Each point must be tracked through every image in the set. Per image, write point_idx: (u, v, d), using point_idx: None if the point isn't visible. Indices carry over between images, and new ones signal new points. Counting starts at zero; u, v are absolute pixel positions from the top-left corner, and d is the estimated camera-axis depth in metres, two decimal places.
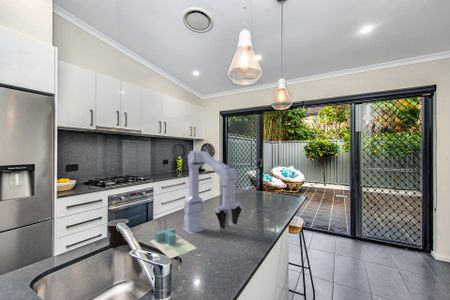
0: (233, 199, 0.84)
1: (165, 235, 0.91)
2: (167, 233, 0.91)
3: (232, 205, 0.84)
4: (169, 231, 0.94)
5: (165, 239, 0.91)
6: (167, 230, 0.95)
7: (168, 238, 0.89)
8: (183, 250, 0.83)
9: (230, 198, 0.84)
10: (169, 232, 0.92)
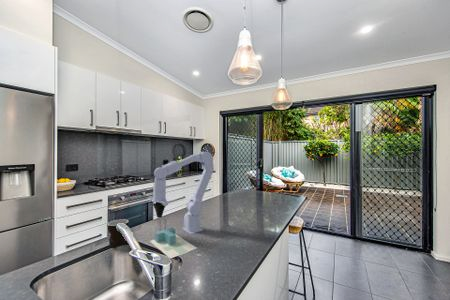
0: (154, 193, 0.98)
1: (165, 235, 0.91)
2: (167, 233, 0.91)
3: (154, 198, 0.98)
4: (169, 231, 0.94)
5: (165, 239, 0.91)
6: (167, 230, 0.95)
7: (168, 238, 0.89)
8: (183, 250, 0.83)
9: (154, 192, 0.99)
10: (169, 232, 0.92)
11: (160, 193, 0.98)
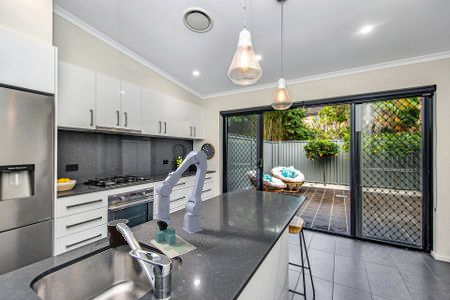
0: (158, 211, 0.95)
1: (165, 235, 0.91)
2: (167, 233, 0.91)
3: (157, 216, 0.95)
4: (169, 231, 0.94)
5: (165, 239, 0.91)
6: (167, 230, 0.95)
7: (168, 238, 0.89)
8: (183, 250, 0.83)
9: None
10: (169, 232, 0.92)
11: (164, 211, 0.94)
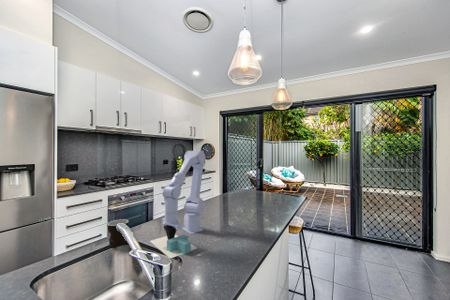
0: (165, 215, 0.89)
1: (178, 243, 0.83)
2: (181, 241, 0.83)
3: (165, 221, 0.89)
4: (182, 238, 0.86)
5: (179, 247, 0.83)
6: (179, 237, 0.87)
7: (183, 246, 0.81)
8: None
9: (165, 213, 0.90)
10: (182, 239, 0.84)
11: (172, 215, 0.88)
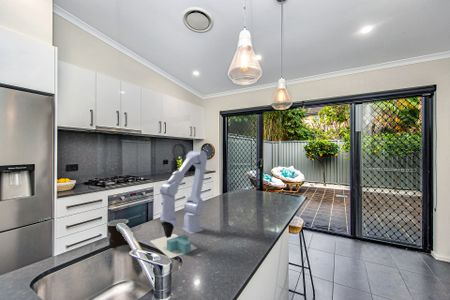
0: (162, 212, 0.91)
1: (178, 243, 0.83)
2: (181, 241, 0.83)
3: (162, 217, 0.91)
4: (182, 238, 0.86)
5: (179, 247, 0.83)
6: (179, 237, 0.87)
7: (183, 246, 0.81)
8: None
9: None
10: (182, 239, 0.84)
11: (169, 212, 0.90)
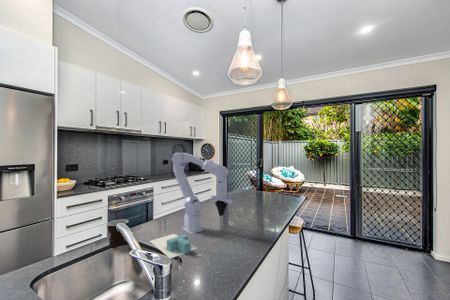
0: (217, 192, 1.00)
1: (178, 243, 0.83)
2: (181, 241, 0.83)
3: (216, 197, 1.01)
4: (182, 238, 0.86)
5: (179, 247, 0.83)
6: (179, 237, 0.87)
7: (183, 246, 0.81)
8: None
9: (216, 191, 1.02)
10: (182, 239, 0.84)
11: (223, 192, 1.00)
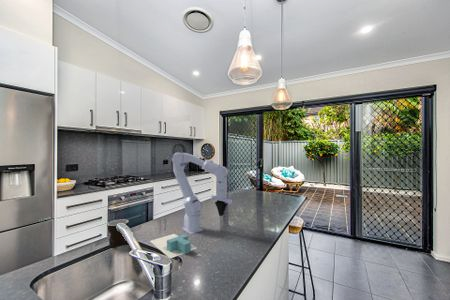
0: (217, 192, 1.00)
1: (178, 243, 0.83)
2: (181, 241, 0.83)
3: (216, 197, 1.01)
4: (182, 238, 0.86)
5: (179, 247, 0.83)
6: (179, 237, 0.87)
7: (183, 246, 0.81)
8: None
9: (216, 191, 1.02)
10: (182, 239, 0.84)
11: (223, 192, 1.00)
